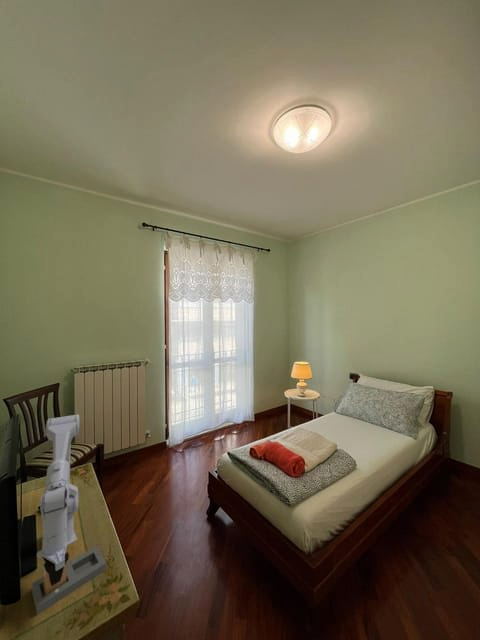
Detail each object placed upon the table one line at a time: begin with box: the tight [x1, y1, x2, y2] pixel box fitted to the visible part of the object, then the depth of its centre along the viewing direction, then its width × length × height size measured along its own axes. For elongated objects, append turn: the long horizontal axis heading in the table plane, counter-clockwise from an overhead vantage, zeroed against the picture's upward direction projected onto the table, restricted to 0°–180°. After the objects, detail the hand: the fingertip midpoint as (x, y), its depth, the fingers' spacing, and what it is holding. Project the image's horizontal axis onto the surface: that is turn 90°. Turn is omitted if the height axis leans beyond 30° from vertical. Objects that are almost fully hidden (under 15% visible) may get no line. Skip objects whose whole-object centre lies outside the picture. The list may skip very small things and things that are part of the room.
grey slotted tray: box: [31, 545, 107, 616], centre depth 76 cm, size 9×17×3 cm, turn 136°
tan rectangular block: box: [43, 561, 68, 595], centre depth 73 cm, size 4×5×7 cm
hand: (54, 577), depth 73 cm, fingers closed on tan rectangular block, 3 cm apart
